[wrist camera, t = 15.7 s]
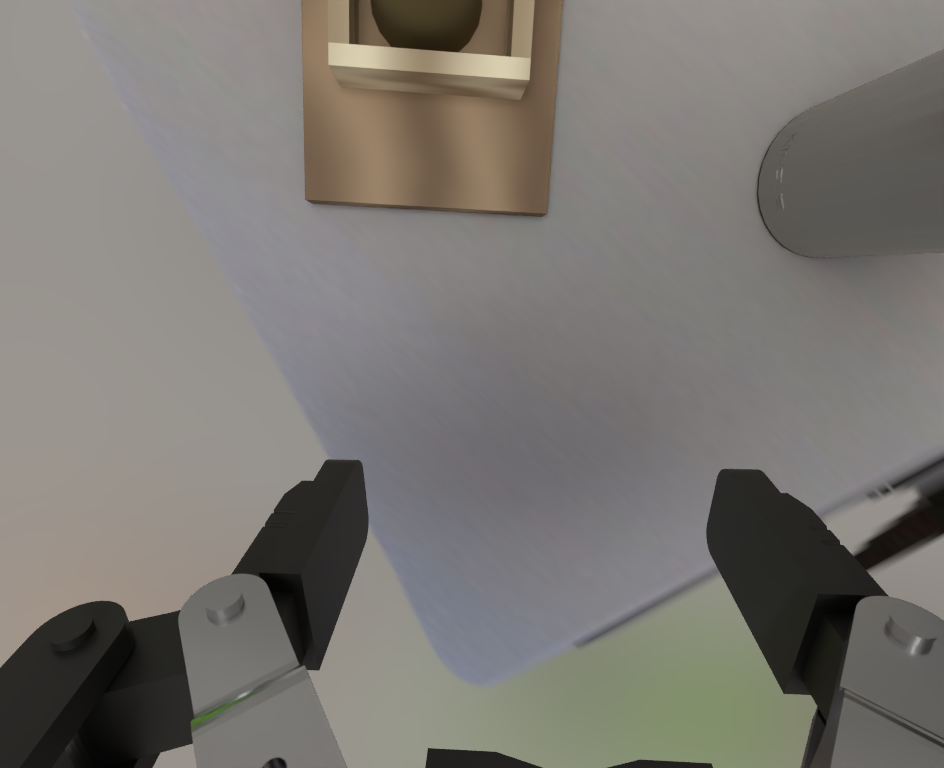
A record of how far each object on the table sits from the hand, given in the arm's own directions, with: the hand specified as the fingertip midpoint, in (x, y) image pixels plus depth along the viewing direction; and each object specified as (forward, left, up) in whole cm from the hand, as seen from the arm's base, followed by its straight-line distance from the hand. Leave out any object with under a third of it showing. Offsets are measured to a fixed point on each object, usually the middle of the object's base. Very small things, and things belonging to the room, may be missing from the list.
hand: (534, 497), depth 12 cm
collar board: (+3, -20, -22) cm, 30 cm away
